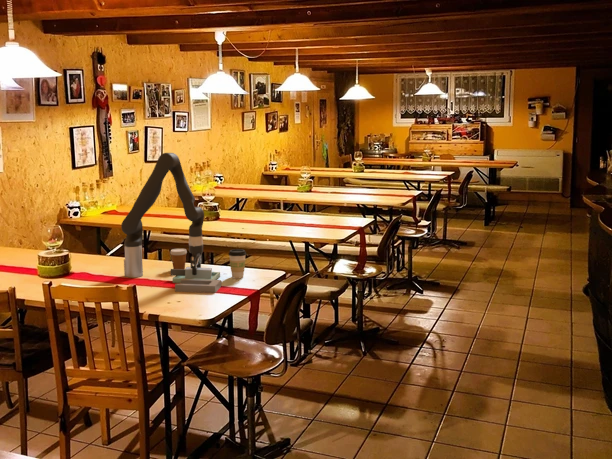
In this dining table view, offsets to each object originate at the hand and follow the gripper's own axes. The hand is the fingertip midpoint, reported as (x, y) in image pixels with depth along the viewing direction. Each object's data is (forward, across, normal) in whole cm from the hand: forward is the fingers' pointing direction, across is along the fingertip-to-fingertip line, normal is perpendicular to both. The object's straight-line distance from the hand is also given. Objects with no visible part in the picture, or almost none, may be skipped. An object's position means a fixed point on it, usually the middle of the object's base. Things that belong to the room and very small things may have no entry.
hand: (196, 272), depth 341 cm
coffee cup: (+4, -8, +21) cm, 23 cm away
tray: (+4, 0, 0) cm, 4 cm away
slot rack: (+4, +18, +6) cm, 19 cm away
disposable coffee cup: (+4, -19, -16) cm, 25 cm away
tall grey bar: (+2, +1, -3) cm, 4 cm away
